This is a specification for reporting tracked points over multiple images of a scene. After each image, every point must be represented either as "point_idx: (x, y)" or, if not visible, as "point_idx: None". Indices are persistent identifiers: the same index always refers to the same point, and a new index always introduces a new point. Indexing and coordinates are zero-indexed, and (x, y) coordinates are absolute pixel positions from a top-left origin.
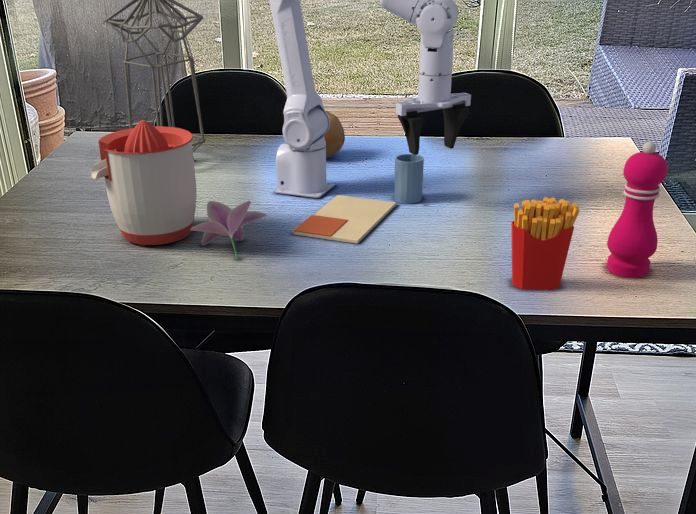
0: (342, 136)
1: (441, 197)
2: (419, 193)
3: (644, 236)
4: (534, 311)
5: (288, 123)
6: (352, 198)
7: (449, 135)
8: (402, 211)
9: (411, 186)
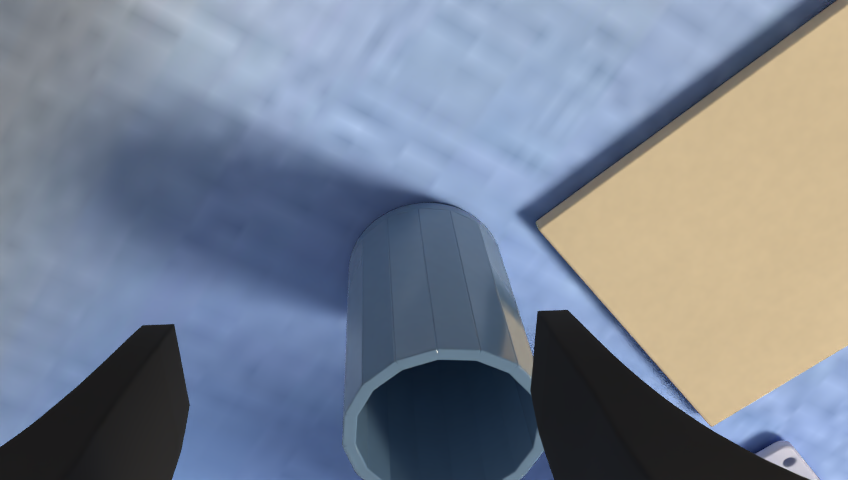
0: None
1: (240, 215)
2: (400, 230)
3: None
4: None
5: None
6: (687, 364)
7: (146, 436)
8: (561, 129)
9: (464, 256)
